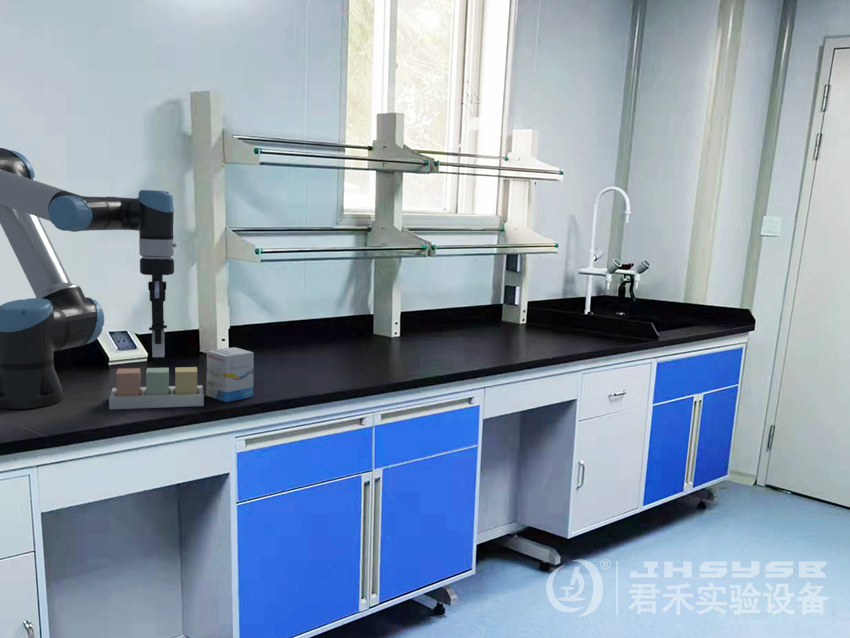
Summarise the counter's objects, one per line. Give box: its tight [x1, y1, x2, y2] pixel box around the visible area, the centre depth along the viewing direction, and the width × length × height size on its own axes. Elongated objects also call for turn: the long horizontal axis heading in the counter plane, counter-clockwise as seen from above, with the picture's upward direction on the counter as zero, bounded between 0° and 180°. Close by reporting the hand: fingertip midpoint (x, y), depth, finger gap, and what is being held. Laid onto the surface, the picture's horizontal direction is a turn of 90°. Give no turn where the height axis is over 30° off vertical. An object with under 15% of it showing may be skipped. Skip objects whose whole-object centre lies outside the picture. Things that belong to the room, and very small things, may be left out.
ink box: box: [206, 346, 255, 403], centre depth 187 cm, size 9×8×12 cm
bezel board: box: [108, 384, 205, 410], centre depth 179 cm, size 21×10×2 cm, turn 108°
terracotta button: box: [115, 367, 141, 396], centre depth 177 cm, size 5×5×6 cm
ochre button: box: [174, 366, 198, 394], centre depth 181 cm, size 5×5×6 cm
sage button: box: [145, 367, 170, 395], centre depth 179 cm, size 5×5×6 cm
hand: (158, 356), depth 178 cm, fingers closed
